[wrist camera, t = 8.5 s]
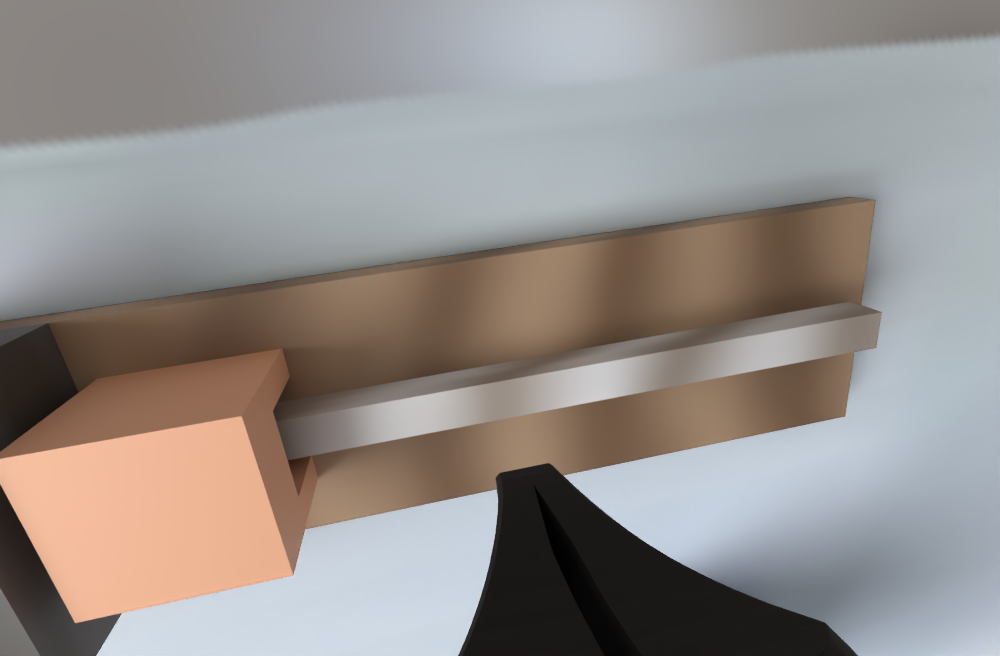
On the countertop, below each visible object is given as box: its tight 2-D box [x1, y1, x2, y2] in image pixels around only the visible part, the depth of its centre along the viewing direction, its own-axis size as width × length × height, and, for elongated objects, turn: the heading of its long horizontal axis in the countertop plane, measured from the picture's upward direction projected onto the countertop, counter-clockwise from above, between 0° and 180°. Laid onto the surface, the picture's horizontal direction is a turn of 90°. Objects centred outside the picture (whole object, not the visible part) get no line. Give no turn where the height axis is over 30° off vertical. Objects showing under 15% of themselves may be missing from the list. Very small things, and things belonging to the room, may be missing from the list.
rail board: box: [0, 197, 882, 656], centre depth 16 cm, size 32×9×6 cm, turn 97°
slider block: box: [0, 349, 318, 623], centre depth 15 cm, size 6×5×4 cm
